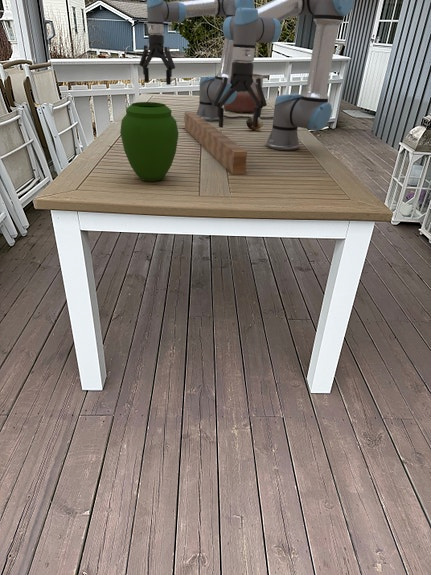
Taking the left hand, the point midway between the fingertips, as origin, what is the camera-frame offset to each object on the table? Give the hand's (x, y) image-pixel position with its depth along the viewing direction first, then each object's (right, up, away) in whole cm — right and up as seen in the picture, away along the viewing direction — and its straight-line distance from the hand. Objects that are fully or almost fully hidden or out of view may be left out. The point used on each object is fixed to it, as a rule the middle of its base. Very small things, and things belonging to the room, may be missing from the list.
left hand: (157, 83), depth 209 cm
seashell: (+51, -18, +17) cm, 57 cm away
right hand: (+38, -45, -57) cm, 82 cm away
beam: (+27, -40, -20) cm, 52 cm away
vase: (+7, -66, -63) cm, 91 cm away
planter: (+48, +18, +73) cm, 89 cm away
